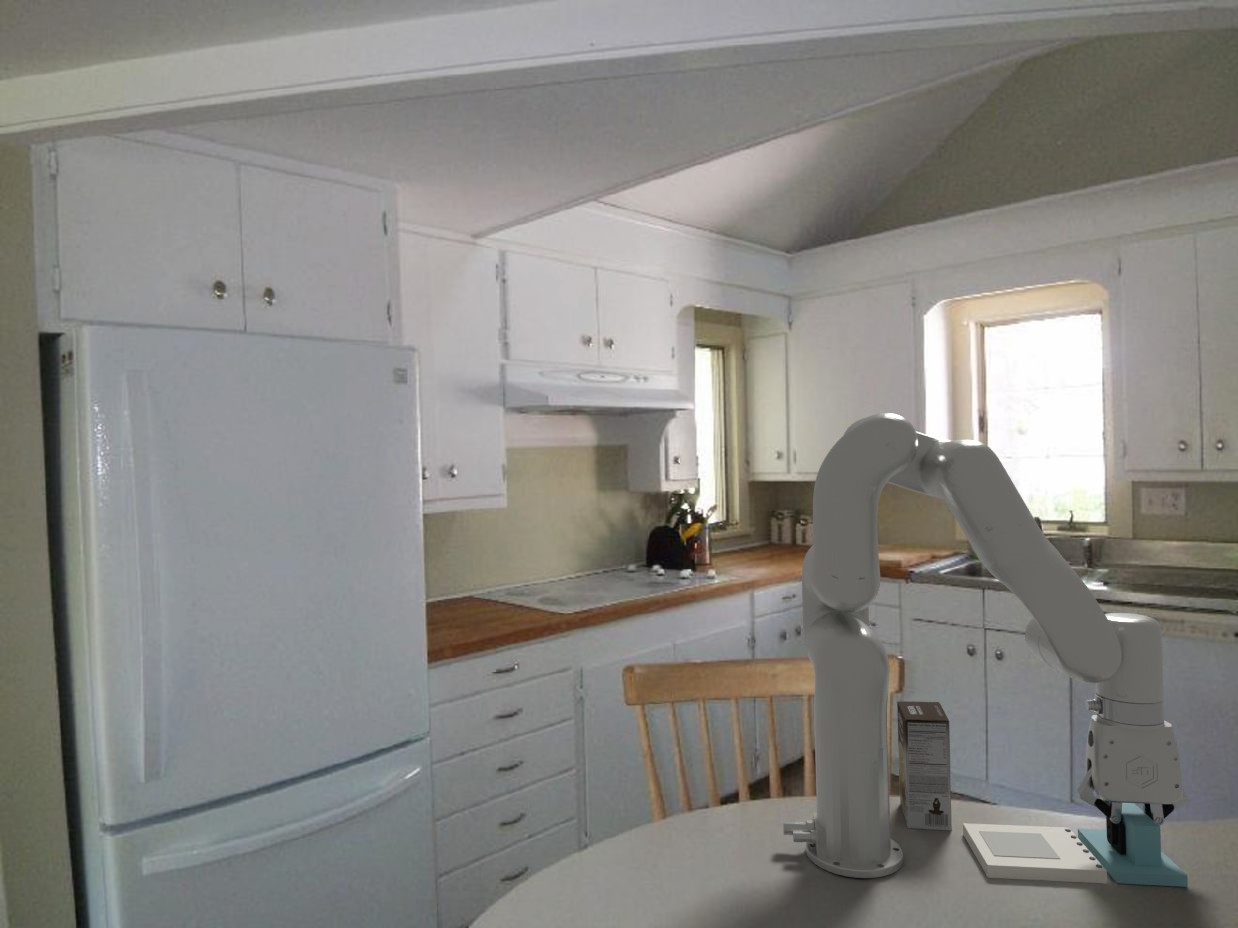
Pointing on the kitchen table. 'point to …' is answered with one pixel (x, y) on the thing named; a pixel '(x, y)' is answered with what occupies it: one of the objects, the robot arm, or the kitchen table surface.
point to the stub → (1135, 852)
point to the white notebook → (1033, 853)
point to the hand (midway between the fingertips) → (1133, 848)
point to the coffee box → (924, 765)
